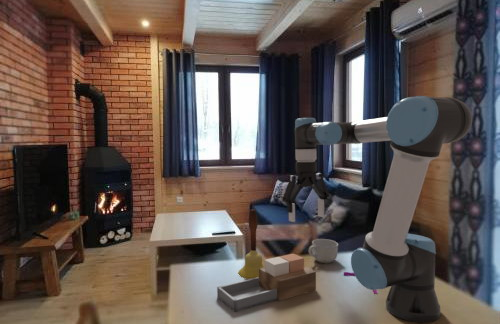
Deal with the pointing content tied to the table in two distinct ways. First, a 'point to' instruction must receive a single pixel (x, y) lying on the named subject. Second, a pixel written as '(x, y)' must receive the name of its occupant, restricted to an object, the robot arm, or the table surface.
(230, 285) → the tray
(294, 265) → the tile rear
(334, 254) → the teacup
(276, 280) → the wooden block
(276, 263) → the white square block
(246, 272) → the handbell
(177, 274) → the table surface
